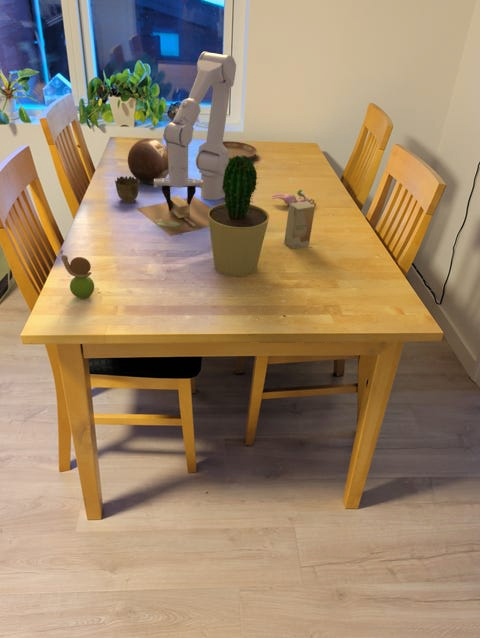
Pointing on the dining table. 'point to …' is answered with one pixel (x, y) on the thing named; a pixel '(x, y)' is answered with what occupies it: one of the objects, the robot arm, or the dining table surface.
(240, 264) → the potted cactus
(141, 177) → the wooden sphere
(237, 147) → the plant saucer
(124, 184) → the cup
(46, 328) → the dining table surface
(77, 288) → the snail figurine
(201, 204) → the brown flat square board
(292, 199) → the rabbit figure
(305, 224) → the skincare box
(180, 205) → the peg key
